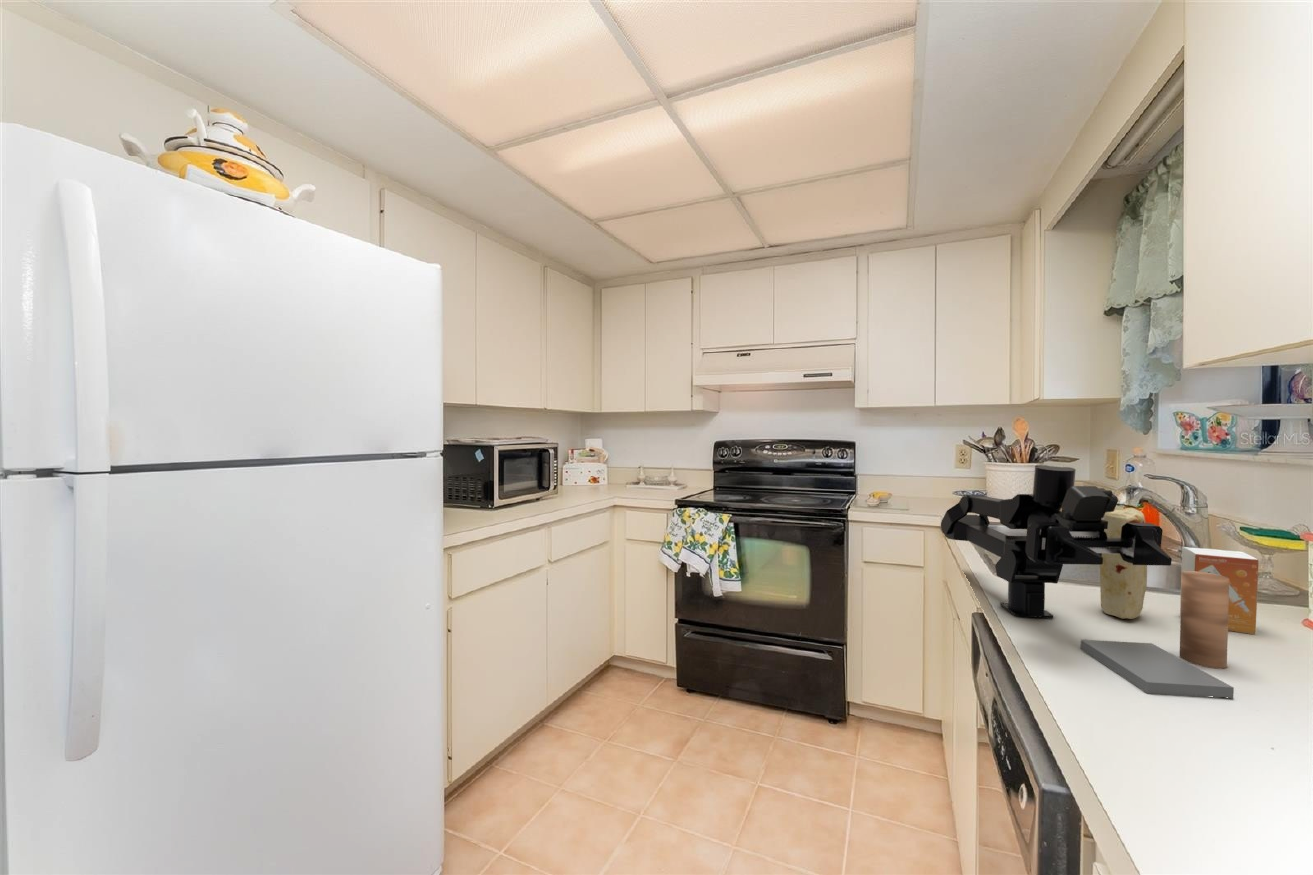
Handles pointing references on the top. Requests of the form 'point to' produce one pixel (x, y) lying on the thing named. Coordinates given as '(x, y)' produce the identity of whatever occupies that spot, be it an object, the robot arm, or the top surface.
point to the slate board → (1155, 669)
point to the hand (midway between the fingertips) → (1135, 561)
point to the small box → (1230, 582)
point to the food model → (1122, 571)
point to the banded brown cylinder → (1204, 619)
